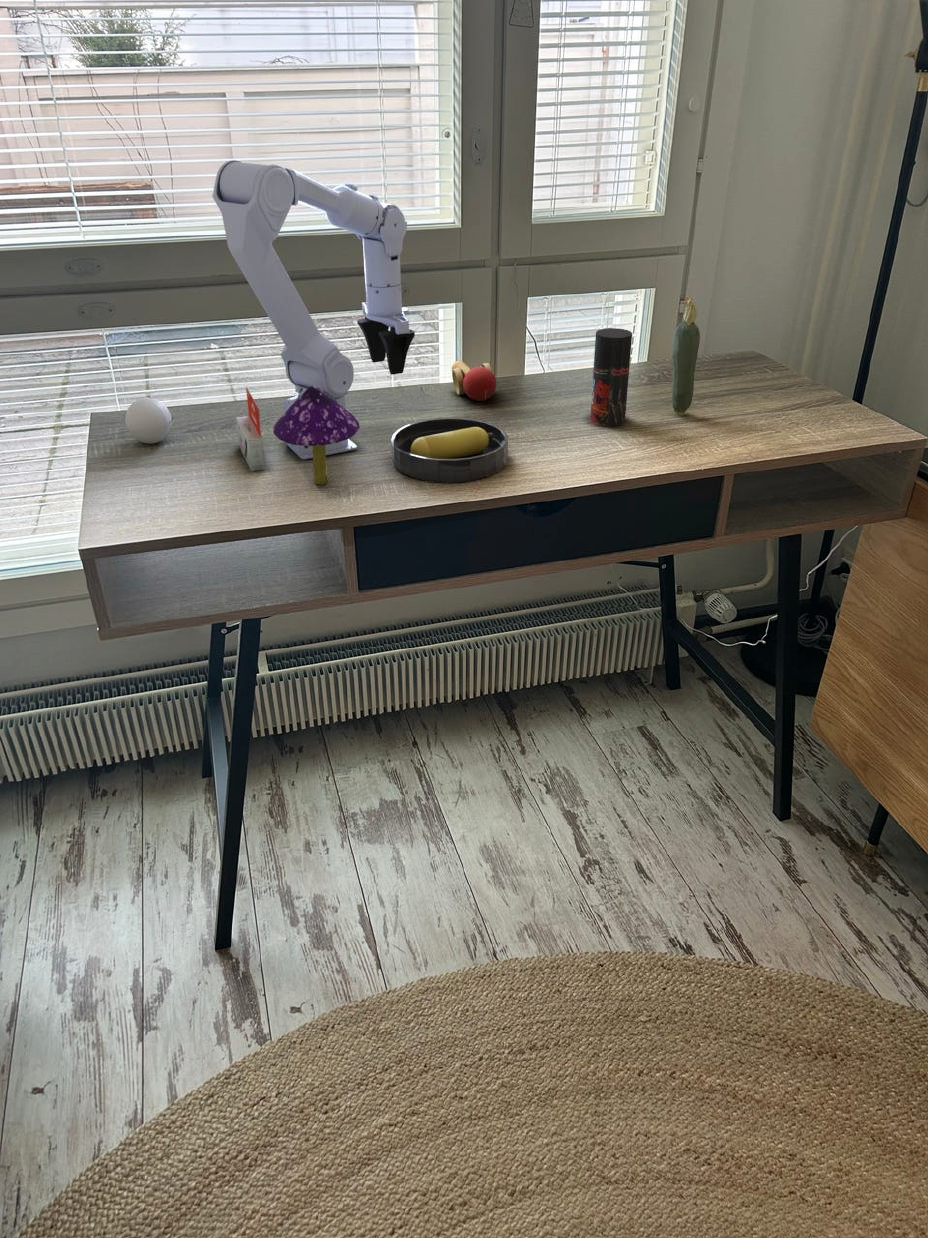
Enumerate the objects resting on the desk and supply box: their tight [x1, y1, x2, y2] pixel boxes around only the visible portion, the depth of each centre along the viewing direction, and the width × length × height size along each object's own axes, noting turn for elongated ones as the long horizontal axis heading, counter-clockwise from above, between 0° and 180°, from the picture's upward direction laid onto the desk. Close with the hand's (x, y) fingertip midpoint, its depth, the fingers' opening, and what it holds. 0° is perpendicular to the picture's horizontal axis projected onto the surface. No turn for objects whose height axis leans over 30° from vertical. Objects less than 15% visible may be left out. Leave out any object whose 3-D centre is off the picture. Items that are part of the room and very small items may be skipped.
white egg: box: [124, 397, 174, 445], centre depth 157 cm, size 10×7×7 cm
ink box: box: [235, 387, 266, 472], centre depth 149 cm, size 2×11×10 cm, turn 21°
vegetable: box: [671, 296, 701, 416], centre depth 161 cm, size 4×4×20 cm
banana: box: [411, 427, 493, 459], centre depth 149 cm, size 14×4×4 cm, turn 118°
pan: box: [390, 417, 509, 484], centre depth 149 cm, size 18×18×4 cm
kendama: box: [451, 360, 497, 402], centre depth 178 cm, size 8×6×18 cm
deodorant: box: [589, 327, 633, 428], centre depth 161 cm, size 6×6×15 cm
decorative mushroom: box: [272, 386, 361, 486], centre depth 139 cm, size 12×12×15 cm
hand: (387, 367), depth 161 cm, fingers open, 7 cm apart
